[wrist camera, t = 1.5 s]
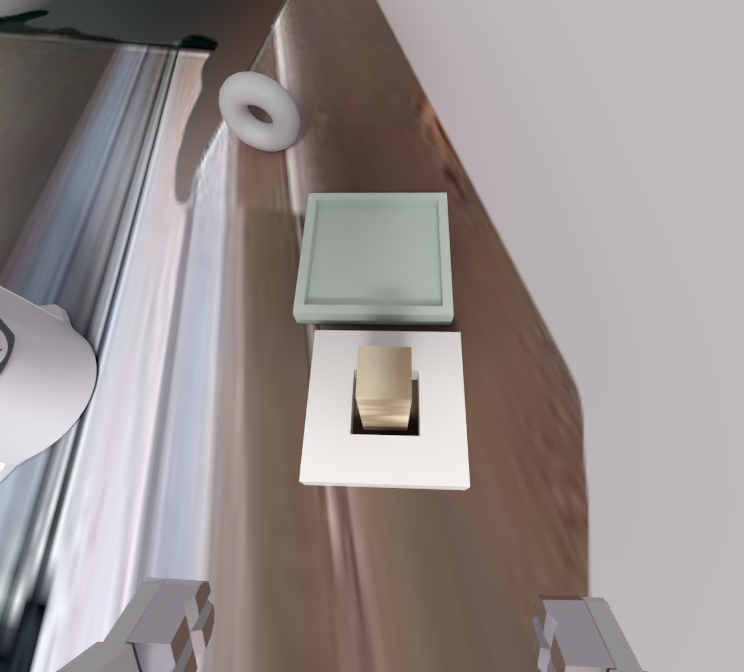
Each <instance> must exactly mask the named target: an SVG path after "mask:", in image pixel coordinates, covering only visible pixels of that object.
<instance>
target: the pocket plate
mask: <svg viewBox="0 0 744 672" xmlns="http://www.w3.org/2000/svg"><path fill="white" fill-rule="evenodd" d="M358 346H384V347H412V380H417V397H418V436H397V435H360V434H353V421H354V403H355V385H356V379H357V362H358ZM299 482H301V483H303V484H304V485H327V486H357V487H387V488H417V489H448V490H466V489H468V488H469V487H470V478H469V462H468V446H467V430H466V414H465V399H464V383H463V367H462V351H461V335H460V332H414V331H345V330H315V336H314V346H313V355H312V365H311V374H310V384H309V393H308V403H307V412H306V422H305V431H304V441H303V450H302V460H301V469H300V479H299Z"/></svg>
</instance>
